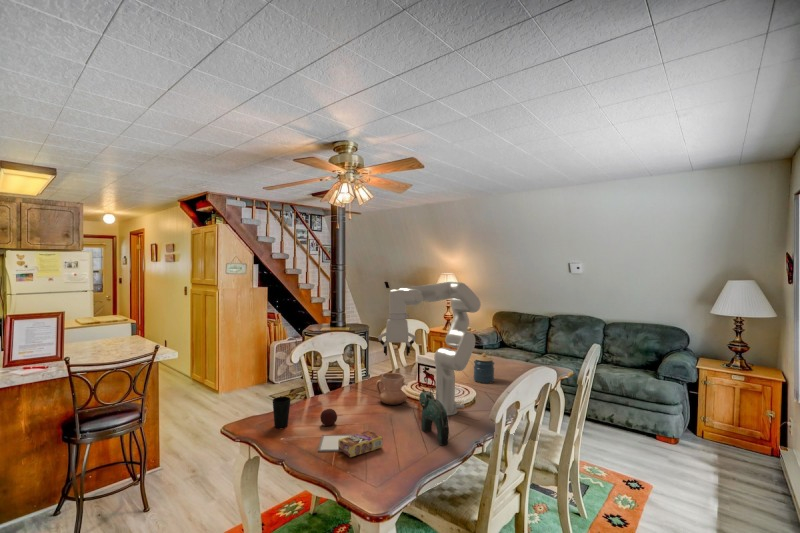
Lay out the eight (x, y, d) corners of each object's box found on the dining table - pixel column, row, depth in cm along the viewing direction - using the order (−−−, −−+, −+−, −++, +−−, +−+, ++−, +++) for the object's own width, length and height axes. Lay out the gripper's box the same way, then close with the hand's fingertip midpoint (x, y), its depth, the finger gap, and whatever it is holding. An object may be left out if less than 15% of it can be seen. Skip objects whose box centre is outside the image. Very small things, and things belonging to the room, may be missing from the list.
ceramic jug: (412, 400, 213) (412, 373, 213) (402, 409, 199) (403, 381, 199) (381, 395, 219) (382, 370, 219) (370, 404, 206) (371, 376, 206)
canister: (473, 383, 246) (474, 354, 246) (473, 377, 259) (473, 350, 259) (494, 384, 244) (495, 356, 244) (493, 378, 257) (493, 351, 257)
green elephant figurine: (417, 428, 176) (418, 383, 176) (430, 426, 178) (431, 382, 178) (439, 447, 157) (439, 397, 157) (453, 444, 160) (453, 395, 160)
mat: (374, 435, 167) (374, 434, 167) (374, 450, 154) (374, 449, 154) (322, 436, 166) (322, 435, 166) (317, 451, 152) (317, 450, 152)
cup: (293, 424, 177) (294, 398, 177) (282, 431, 170) (282, 403, 170) (280, 421, 180) (280, 395, 180) (268, 427, 174) (268, 400, 174)
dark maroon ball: (317, 424, 178) (317, 409, 178) (330, 420, 183) (331, 405, 183) (326, 429, 173) (327, 413, 173) (340, 424, 178) (341, 409, 178)
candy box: (383, 436, 156) (350, 447, 146) (383, 447, 156) (350, 458, 146) (370, 429, 163) (338, 439, 153) (370, 439, 163) (338, 450, 153)
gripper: (415, 316, 182) (414, 353, 182) (378, 315, 180) (377, 353, 180) (417, 318, 174) (416, 356, 174) (378, 317, 173) (377, 356, 173)
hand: (396, 354), depth 177 cm, fingers open, 9 cm apart
